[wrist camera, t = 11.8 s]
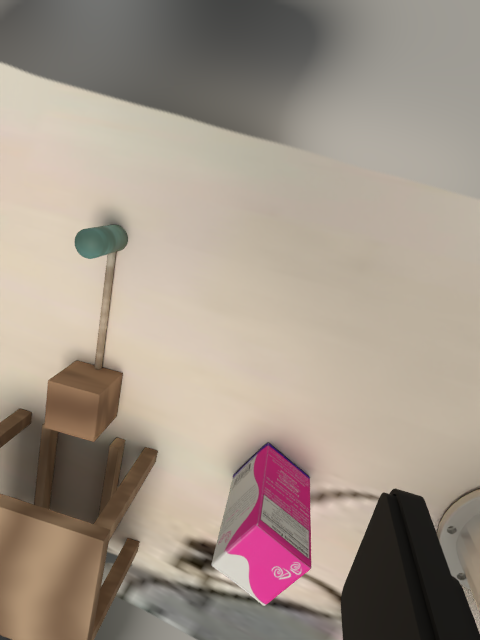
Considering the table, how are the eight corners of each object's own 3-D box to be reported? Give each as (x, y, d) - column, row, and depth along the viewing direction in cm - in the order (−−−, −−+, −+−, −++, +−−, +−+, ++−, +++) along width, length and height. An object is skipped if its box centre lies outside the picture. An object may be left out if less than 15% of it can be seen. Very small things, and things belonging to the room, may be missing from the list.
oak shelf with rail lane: (158, 450, 46) (103, 541, 34) (138, 552, 50) (82, 664, 38) (19, 407, 47) (-82, 480, 35) (10, 510, 51) (-82, 605, 39)
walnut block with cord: (116, 415, 45) (93, 441, 41) (72, 403, 46) (44, 427, 41) (142, 231, 39) (119, 236, 35) (91, 218, 40) (61, 222, 35)
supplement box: (275, 510, 45) (262, 610, 35) (231, 474, 45) (205, 563, 34) (313, 477, 44) (312, 571, 33) (268, 440, 43) (253, 522, 32)
